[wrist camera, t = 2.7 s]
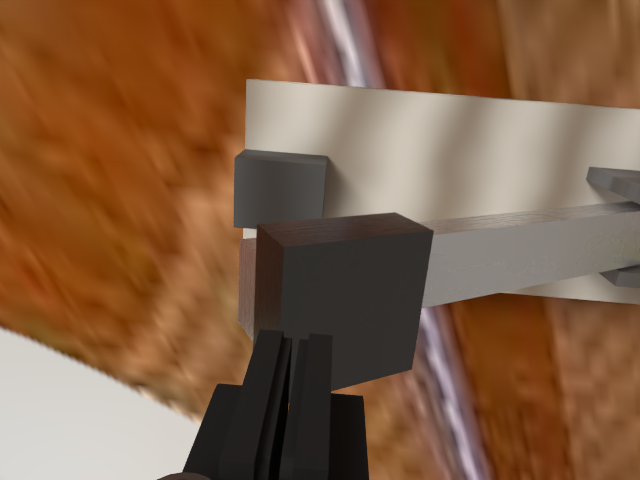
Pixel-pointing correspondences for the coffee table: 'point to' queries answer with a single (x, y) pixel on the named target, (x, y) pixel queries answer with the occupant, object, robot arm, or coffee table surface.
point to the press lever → (412, 273)
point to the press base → (434, 162)
